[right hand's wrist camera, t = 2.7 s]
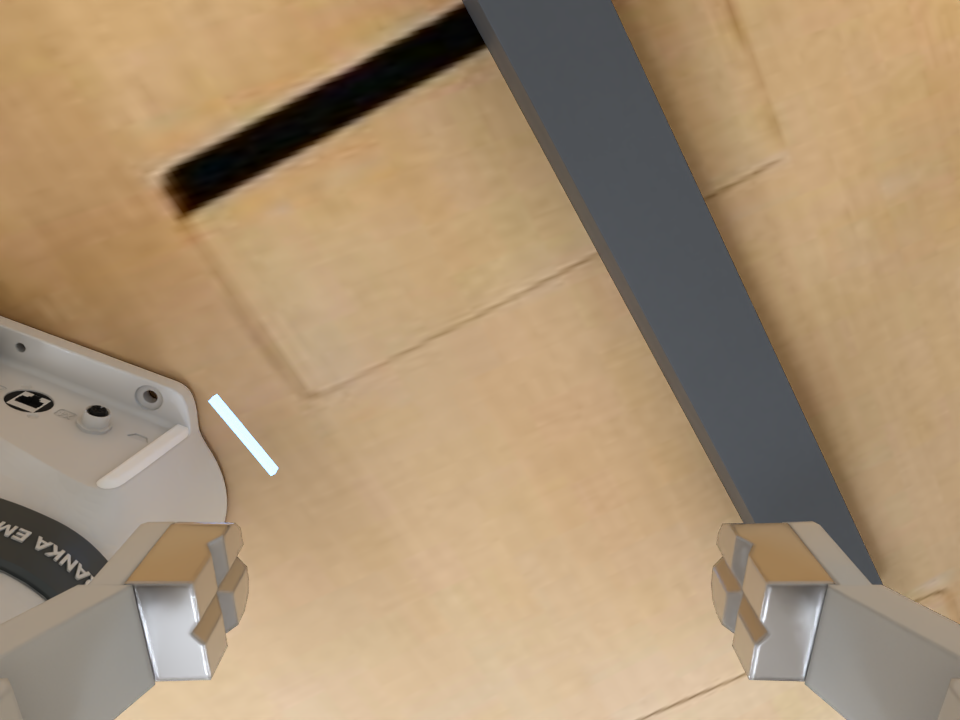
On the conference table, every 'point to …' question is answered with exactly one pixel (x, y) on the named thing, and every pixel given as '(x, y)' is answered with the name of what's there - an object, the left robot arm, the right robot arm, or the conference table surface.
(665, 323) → the post
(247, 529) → the conference table surface
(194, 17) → the conference table surface
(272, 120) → the conference table surface
